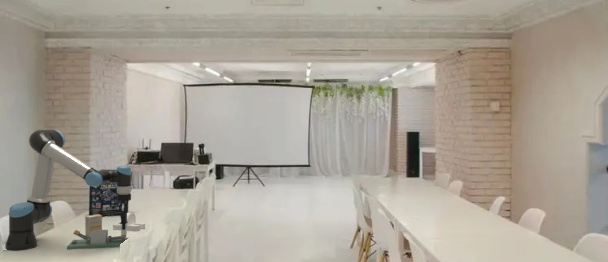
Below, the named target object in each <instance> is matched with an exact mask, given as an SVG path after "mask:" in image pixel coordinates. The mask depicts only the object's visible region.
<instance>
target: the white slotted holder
mask: <svg viewBox="0 0 608 262" xmlns="http://www.w3.org/2000/svg"><path fill="white" fill-rule="evenodd" d="M127 222H128V223H127V232H140V231H141V230H145V229H146V223H144V222H137V216H136V214H135V213H133V212H128V213H127ZM120 223H121V221H119V222H118V223H113V224H112V230H113V231H121V224H120Z"/></svg>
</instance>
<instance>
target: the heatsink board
mask: <svg viewBox="0 0 608 262" xmlns="http://www.w3.org/2000/svg"><path fill="white" fill-rule="evenodd" d="M108 234H109V229H102V230H93V231H92V232H91V233H90V239H87V240H85V239H83V238H79V239H73V240H71V242H69V244H68V245H67V246H66V250H79V249H80V250H81V249H86V248H87V249H103V248H104V249H105V248H107V249H109V248H120V247H119V246H120V244H121V243H123V242H124V241H125V240H127V239H128V238H129V237H126V238H124V239H116V240H110V239H107V238H108V237H109V236H110V237H112V235H108Z"/></svg>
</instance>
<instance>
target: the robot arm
mask: <svg viewBox="0 0 608 262" xmlns="http://www.w3.org/2000/svg"><path fill="white" fill-rule="evenodd" d="M65 141H66V139H65V136H64V134H63V133H62V132H61V131H59V130H57V129H38V130H35V131H34V132H32V133H31V134H30V136H29V138H28V143H29V145H30V147H31V149H32V150H33V151H35V152H36V154H37V155H38V156H37V162H36V168H35V174H34V177H33V178H34V179H33V184H32V189H31V193H30V194H31V195H29V197H28V198H27V200H26V201H25V202H20V203H15V204H12V205H11V206H10V207H9V212H8V215H9V216H8V223H9V226H8V229H9V230H8V231H9V232H8V233H9V234H8V236H7V239H6V242H5V249H6V250H8V251H22V250H28V249H33V248H36V247H37V246H38V240H37V236H36V235H35V231H34V226H35V225H36V224H39V223H42V222H45V221H46V220H48V219H49V218H50V217H51V215H52V212H53V207H52V205H51V199H50V198H49V192H50V187H51V183H52V182H51V181H52V178H53V177H52V176H53V170H54V164H55V162H56V163H58V164H59V165H61V167H62V166H63V167H64V168H66V169H67V170H69V171H70V172H71V173H73V174H76V176H78V177H80V178H81V179H83V180H85V183H86V185H87V186H98V185H101V184H105V183H117V193H118V194H117V201H121V204H120V212H121V216H120V222H121V223H120V224H121V230H120V236H121V235H126V236H127V235H128V234H127V232H128V231H127V223H128V222H127V210H128V211H129V202H130V201H131V200H132V193H131V192H132V190H133V187H132V167H131V166H129V165H120V166H117V167H116V169H104V168H102V169H97V170H96V169H95V167H92V166H91V165H89V164H87V163H85V162H84V161H83V160H81V159H79V158H78V157H76V156H75V155H73V154H72V153H71V152H69V151H67V150H66V149H64V148H63V147H64V145H65V143H66V142H65ZM127 201H128V203H127Z"/></svg>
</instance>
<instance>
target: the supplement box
mask: <svg viewBox="0 0 608 262" xmlns="http://www.w3.org/2000/svg"><path fill="white" fill-rule="evenodd" d="M84 218H85V219H84V220H85V223H84V224H85V228H84V229H85V234H84V235H85V236H87V237H90V233H91V232H92V231H93V230H103V217H102V215H99V214H97V215H90V216H89V215H85V216H84Z"/></svg>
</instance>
